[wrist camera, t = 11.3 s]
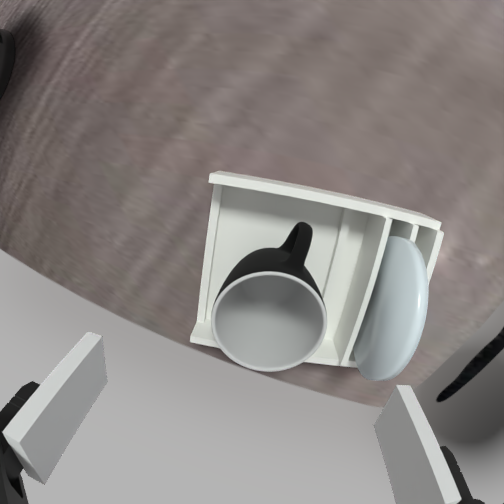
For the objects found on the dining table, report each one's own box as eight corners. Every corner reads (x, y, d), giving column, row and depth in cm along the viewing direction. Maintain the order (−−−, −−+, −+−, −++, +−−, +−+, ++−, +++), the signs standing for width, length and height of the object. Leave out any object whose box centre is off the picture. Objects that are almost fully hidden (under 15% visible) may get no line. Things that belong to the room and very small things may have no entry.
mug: (290, 327, 35) (294, 385, 25) (215, 296, 34) (194, 348, 25) (341, 231, 31) (369, 263, 22) (259, 194, 31) (253, 211, 21)
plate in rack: (344, 332, 35) (372, 410, 22) (376, 222, 31) (434, 262, 18) (354, 333, 35) (384, 410, 22) (387, 224, 31) (447, 265, 18)
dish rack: (199, 319, 36) (187, 347, 31) (219, 171, 31) (207, 173, 26) (377, 346, 36) (391, 375, 30) (420, 212, 31) (446, 224, 25)
